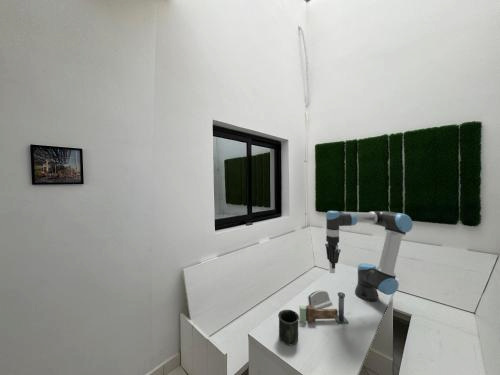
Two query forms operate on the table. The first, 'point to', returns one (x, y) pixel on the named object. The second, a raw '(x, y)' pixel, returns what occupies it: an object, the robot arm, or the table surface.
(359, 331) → the table surface
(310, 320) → the wooden mallet
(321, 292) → the grey arched slab
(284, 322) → the dark green cylindrical container
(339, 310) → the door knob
